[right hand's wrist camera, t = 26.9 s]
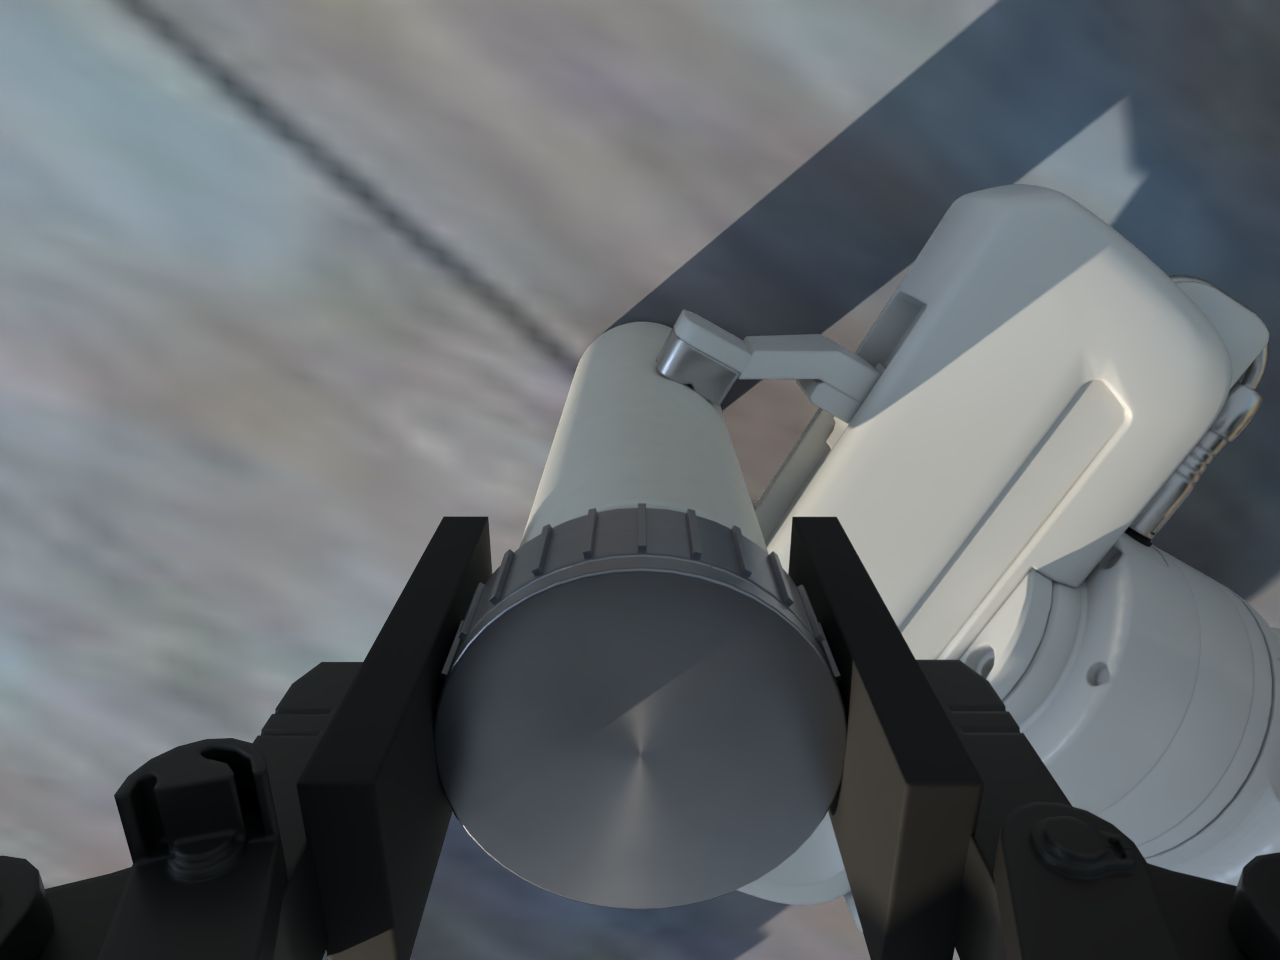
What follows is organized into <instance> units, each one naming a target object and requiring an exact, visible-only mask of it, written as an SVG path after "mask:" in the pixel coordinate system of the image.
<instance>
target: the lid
mask: <svg viewBox="0 0 1280 960" xmlns="http://www.w3.org/2000/svg"><path fill="white" fill-rule="evenodd" d="M439 679H441V680H445V681H444V683H443V687H442V690H441V693H440V696H439V699H438V703H437V706H436V712H435V719H434V726H433V733H434V745H435V755H436V764H437V772H438V777H439V779H440V782H441V785H442V788H443V791H444V794H445V797H446V798H447V800H448V802H449V804H450V806H451V808H452V810H453V812H454V814H455V816H456V817H457V819H458V820H459V821H460V823H461V824H462V826H463V827H464V828H465V830H466V831H467V833H468V834H469V835H470V836H471V837H472V838H473V839H474V840H475V842H476V843H477V844H478V845H479V846H480V847H481V848H482V849H483V850H484V851H485V852H486V853H487V854H489V855H490V856H491V857H492V858H493V859H495V860H496V861H497V862H498V863H499V864H501V865H502V866H503V867H505V868H506V869H508V870H509V871H511V872H512V873H514V874H516V875H517V876H519V877H520V878H522V879H524V880H526V881H528V882H530V883H532V884H534V885H536V886H538V887H539V888H541V889H544V890H546V891H549V892H552V893H554V894H557V895H560V896H562V897H565V898H568V899H572V900H576V901H580V902H584V903H587V904H592V905H599V906H605V907H612V908H625V909H657V908H669V907H676V906H683V905H689V904H693V903H697V902H701V901H705V900H709V899H713V898H716V897H718V896H721V895H724V894H727V893H730V892H732V891H735V890H737V889H739V888H741V887H743V886H745V885H747V884H749V883H752V882H754V881H756V880H757V879H759V878H761V877H762V876H764V875H765V874H767V873H769V872H770V871H772V870H773V869H775V868H776V867H778V866H779V865H780V864H781V863H783V862H784V861H785V860H786V859H788V858H789V857H790V856H791V855H793V854H794V853H795V852H796V851H797V850H798V849H799V848H800V847H801V846H802V845H803V844H804V843H805V842H806V840H807V839H808V838H809V837H810V836H811V835H812V834H813V832H814V831H815V830H816V828H817V827H818V826H819V824H820V823H821V821H822V820H823V819H824V817H825V815H826V813H827V812H828V810H829V808H830V806H831V804H832V802H833V801H834V799H835V796H836V793H837V791H838V788H839V785H840V782H841V780H842V777H843V769H844V760H845V751H846V741H847V720H846V712H845V707H844V703H843V700H842V696H841V693H840V689H839V686H838V684H837V683H839V682H842V678H841V675H840V672H839V669H838V667H837V664H836V662H835V659H834V657H833V654H832V652H831V649H830V646H829V644H828V641H827V639H826V636H825V634H824V631H823V629H822V626H821V623H818V620H817V618H816V615H815V612H814V610H813V607H812V605H811V602H810V600H809V597H808V594H807V592H806V589H805V588H804V586H803V585H800V586H798V587H797V586H796V585H795V583H794V582H793V580H792V579H791V577H790V576H789V575H788V574H787V572H786V571H785V570H784V569H783V568H782V565H781V563H780V560H779V557H778V555H777V554H776V553H775V552H774V551H772V552H771V553H770V554H768V553H767V552H765V551H764V550H763V549H762V548H761V547H759V546H758V545H757V544H755V543H754V542H752V541H751V540H749V539H748V538H746V537H744V536H743V535H742V532H741V529H740V528H739V527H737V526H735V525H734V526H733V527H732V529H730V528H728V527H726V526H724V525H721V524H719V523H717V522H715V521H712V520H709V519H706V518H702V517H699V516H696V512H695V510H692V509H688V510H687V513H684V512H678V511H673V510H668V509H655V508H646V503H638V508H626V509H614V510H608V511H602V512H597V510H596V508H593V509H589V510H588V515H585V516H582V517H578V518H575V519H572V520H569V521H566V522H564V523H562V524H560V525H557V526H555V527H553V528H552V527H551V525H550V524H548V525H546V526H544V527H543V529H542V532H541V534H540V535H538V536H536V537H535V538H533V539H532V540H530V541H528V542H527V543H525V544H524V545H523V546H522V547H520V548H519V549H518V550H517V551H515V552H512V551H511V550H508V551H507V552H506V553H505V555H504V557H503V560H502V563H501V566H500V567H499V568H498V569H497V570H496V571H495V572H494V573H493V574H492V576H491V577H490V579H489V580H488V581H487V583H486V584H485V585H484V584H483V583H481V582H480V583H479V584H478V586H477V588H476V590H475V593H474V595H473V598H472V601H471V603H470V606H469V608H468V611H467V614H466V616H465V619H464V621H463V620H461V623H460V625H459V628H458V630H457V633H456V635H455V638H454V640H453V643H452V646H451V648H450V651H449V653H448V656H447V658H446V661H445V664H444V666H443V669H442V671H441V674H440V678H439Z"/></svg>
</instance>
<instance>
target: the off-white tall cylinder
mask: <svg viewBox="0 0 1280 960" xmlns="http://www.w3.org/2000/svg"><path fill="white" fill-rule="evenodd" d="M671 330H672V328H671V327H668V326H666V325H662V324H658V323H653V322H632V323H626V324H623V325H619V326H617V327H614V328H612V329H610V330H608V331H607V332H605V333H603V334H602V335H601V336H599V337H598V338H597V339H596V340H595V341H594V342H593V343H592V344H591V345H590V346H589V347H588V348H587V350H586V351H585V352H584V354H583V356H582V358H581V359H580V361H579V364H578V367H577V369H576V372H575V375H574V379H573V382H572V385H571V388H570V391H569V394H568V397H567V400H566V404H565V407H564V410H563V413H562V416H561V419H560V422H559V426H558V429H557V432H556V435H555V438H554V441H553V444H552V447H551V451H550V454H549V457H548V460H547V463H546V466H545V469H544V473H543V476H542V479H541V482H540V485H539V488H538V491H537V494H536V498H535V501H534V504H533V507H532V510H531V513H530V516H529V520H528V523H527V526H526V529H525V532H524V535H523V538H522V541H521V545H520V547H522V546H523V545H524V544H525V543H527V542H528V541H530V540H532V539H533V538H535V537H536V536H538V535H540V534H541V532H542V529H543V527H544V526H546V525H548V524H550V525H551V527H552V528H553V527H555V526H557V525H560V524H562V523H564V522H566V521H569V520H572V519H575V518H578V517H582V516H585V515H588V510H589V509H593V508H596V510H597V512H602V511H608V510H614V509H626V508H638V503H646V508H655V509H668V510H673V511H678V512H684V513H687V510H688V509H692V510H695V512H696V516H699V517H702V518H706V519H709V520H712V521H715V522H717V523H719V524H721V525H724V526H726V527H728V528H730V529H732V527H733V526H734V525H735V526H737V527H739V528H740V529H741V532H742V535H743V536H744V537H746V538H748V539H749V540H751V541H752V542H754V543H755V544H757V545H758V546H759V547H761V548H762V549H763V550H764V551H765V552H767V553H768V551H767V548H766V544H765V541H764V538H763V535H762V532H761V529H760V526H759V523H758V520H757V517H756V514H755V511H754V508H753V505H752V501H751V498H750V495H749V492H748V489H747V486H746V483H745V480H744V477H743V474H742V471H741V468H740V465H739V462H738V458H737V455H736V452H735V449H734V446H733V443H732V440H731V437H730V434H729V431H728V428H727V425H726V422H725V419H724V415H723V412H722V409H721V406H718V405H716V404H715V403H713V402H711V401H709V400H707V399H705V398H703V397H702V396H700V395H699V394H698V393H696V392H695V390H694V388H693V386H692V384H683V385H682V384H679V383H677V382H674V381H672V380H670V379H669V378H667V377H666V376H664V375H663V374H661V373H660V372H659V371H658V370H657V369H656V364H657V362H656V358H657V356H658V354H659V352H660V350H661V348H662V347H663V345H664V343H665V341H666V339H667V337H668V335H669V334H670V332H671Z"/></svg>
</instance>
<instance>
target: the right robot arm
mask: <svg viewBox="0 0 1280 960" xmlns="http://www.w3.org/2000/svg"><path fill="white" fill-rule="evenodd" d="M788 575H789V576H790V577H791V579H792V580H793V582H794V583H795V585H796V586H797V587H798V586H800V585H803V586H804V588H805V589H806V592H807V594H808V597H809V600H810V602H811V605H812V607H813V610H814V612H815V615H816V618H817V620H818V623H821V626H822V629H823V631H824V634H825V636H826V639H827V641H828V644H829V646H830V649H831V652H832V654H833V657H834V659H835V662H836V664H837V667H838V669H839V672H840V675H841V678H842V682H839V683H837V684H838V686H839V689H840V693H841V696H842V700H843V703H844V707H845V712H846V720H847V741H846V751H845V760H844V769H843V777H842V780H841V782H840V785H839V788H838V791H837V793H836V796H835V799H834V801H833V802H832V804H831V806H830V808H829V810H828V812H829V816H830V819H831V823H832V826H833V830H834V833H835V837H836V840H837V844H838V847H839V851H840V854H841V857H842V861H843V864H844V868H845V871H846V875H847V878H848V882H849V885H850V889H851V892H852V896H853V899H854V902H855V906H856V909H857V913H858V916H859V920H860V923H861V927H862V930H863V934H864V937H865V941H866V944H867V947H868V951H869V954H870V958H871V960H952V959H953V954H954V948H956V950H957V953H958V955H959V958H960V960H1280V852H1278V853H1271V854H1265V855H1258V856H1255V857H1254V858H1253V859H1252V860H1251V861H1250V862H1249V863H1247V864H1246V865H1245V866H1244V867H1243V870H1242V873H1241V876H1240V879H1239V882H1238V885H1237V886H1234V885H1230V884H1226V883H1222V882H1218V881H1213V880H1209V879H1205V878H1201V877H1197V876H1192V875H1188V874H1184V873H1180V872H1175V871H1171V870H1168V869H1165V868H1162V867H1158V866H1155V865H1152V864H1149V863H1147V862H1146V860H1145V859H1144V857H1143V856H1142V854H1141V853H1140V851H1139V849H1138V848H1137V846H1136V845H1135V843H1134V842H1133V841H1132V840H1131V839H1129V838H1128V837H1127V836H1126V835H1125V834H1124V833H1122V832H1121V831H1120V830H1119V829H1118V828H1117V827H1115V826H1114V825H1113V824H1111V823H1109V822H1107V821H1106V820H1104V819H1102V818H1100V817H1098V816H1096V815H1094V814H1092V813H1090V812H1088V811H1086V810H1083V809H1079V808H1076V807H1073V806H1072V805H1071V803H1070V802H1069V800H1068V799H1067V797H1066V796H1065V794H1064V793H1063V791H1062V790H1061V788H1060V787H1059V785H1058V784H1057V782H1056V781H1055V779H1054V778H1053V776H1052V775H1051V773H1050V772H1049V770H1048V769H1047V767H1046V766H1045V765H1044V763H1043V762H1042V760H1041V759H1040V757H1039V756H1038V754H1037V753H1036V751H1035V750H1034V748H1033V747H1032V745H1031V744H1030V742H1029V741H1028V739H1027V738H1026V736H1025V735H1024V733H1020V727H1019V726H1018V724H1017V723H1016V721H1015V720H1014V718H1013V717H1012V715H1011V714H1010V712H1009V711H1006V706H1005V705H1004V703H1003V702H1002V700H1001V699H1000V697H999V696H998V694H997V693H996V691H995V690H994V688H993V687H992V685H991V684H990V682H989V681H988V680H986V679H985V678H984V677H982V676H981V675H979V674H978V673H977V672H975V671H974V670H973V669H971V668H970V667H969V666H967V665H966V664H965V663H963V662H962V661H960V660H916V659H915V657H914V656H913V654H912V652H911V650H910V648H909V647H908V645H907V643H906V641H905V639H904V637H903V636H902V634H901V632H900V630H899V628H898V627H897V625H896V623H895V621H894V619H893V618H892V616H891V614H890V612H889V610H888V609H887V607H886V605H885V603H884V601H883V599H882V598H881V596H880V594H879V592H878V590H877V589H876V587H875V585H874V583H873V581H872V580H871V578H870V576H869V574H868V572H867V571H866V569H865V567H864V565H863V563H862V562H861V560H860V558H859V556H858V554H857V552H856V551H855V549H854V547H853V545H852V543H851V542H850V540H849V538H848V536H847V534H846V533H845V531H844V529H843V527H842V525H841V524H840V522H839V520H838V518H837V517H792V530H791V544H790V558H789V572H788ZM491 576H492V565H491V551H490V537H489V522H488V517H443V519H442V521H441V523H440V524H439V526H438V528H437V530H436V532H435V534H434V535H433V537H432V539H431V541H430V543H429V544H428V546H427V548H426V550H425V552H424V553H423V555H422V557H421V559H420V561H419V562H418V564H417V566H416V568H415V570H414V572H413V573H412V575H411V577H410V579H409V581H408V582H407V584H406V586H405V588H404V590H403V591H402V593H401V595H400V597H399V599H398V600H397V602H396V604H395V606H394V608H393V610H392V611H391V613H390V615H389V617H388V619H387V620H386V622H385V624H384V626H383V628H382V629H381V631H380V633H379V635H378V637H377V638H376V640H375V642H374V644H373V646H372V648H371V649H370V651H369V653H368V655H367V657H366V658H365V660H364V662H321V663H320V664H319V665H317V666H316V667H314V668H313V669H312V670H310V671H309V672H308V673H306V674H305V675H304V676H302V677H301V678H300V679H298V680H297V681H296V682H294V683H293V684H292V685H291V687H290V688H289V690H288V691H287V693H286V694H285V696H284V697H283V699H282V700H281V702H280V703H279V705H278V706H277V708H276V709H275V710H276V712H275V714H272V715H271V717H270V718H269V720H268V721H267V723H266V724H265V726H264V727H263V729H262V730H261V731H262V733H261V736H257V738H256V739H255V741H254V742H253V743H249V742H245V741H241V740H237V739H233V738H225V739H205V740H202V741H198V742H194V743H190V744H186V745H182V746H178V747H176V748H174V749H172V750H170V751H167V752H165V753H163V754H161V755H159V756H157V757H155V758H153V759H150V760H149V761H148V762H147V763H145V764H144V765H143V766H141V767H140V768H139V769H137V770H136V771H135V772H133V773H132V774H131V775H129V776H128V777H127V779H126V780H125V781H124V783H123V784H122V785H121V787H120V788H119V789H118V791H117V792H116V794H115V795H114V796H115V800H116V804H117V807H118V811H119V814H120V818H121V822H122V825H123V829H124V832H125V836H126V839H127V843H128V847H129V850H130V854H131V857H132V861H133V866H132V867H130V868H127V869H124V870H120V871H117V872H114V873H111V874H107V875H103V876H98V877H94V878H90V879H86V880H82V881H77V882H73V883H69V884H65V885H61V886H56V887H52V888H48V889H44V886H43V883H42V880H41V877H40V874H39V871H38V870H37V869H36V868H35V867H34V866H33V865H32V864H31V863H29V862H28V861H27V860H26V859H21V858H14V857H8V856H0V960H322V958H323V956H324V953H325V951H327V956H328V960H410V956H411V953H412V949H413V946H414V942H415V939H416V935H417V932H418V928H419V925H420V922H421V918H422V915H423V911H424V908H425V904H426V901H427V897H428V894H429V890H430V887H431V883H432V880H433V877H434V873H435V870H436V866H437V863H438V859H439V856H440V852H441V849H442V845H443V842H444V838H445V835H446V832H447V828H448V825H449V821H450V818H451V814H452V811H453V810H452V808H451V806H450V804H449V802H448V800H447V798H446V797H445V794H444V791H443V788H442V785H441V782H440V779H439V777H438V772H437V764H436V755H435V745H434V733H433V726H434V719H435V712H436V706H437V703H438V699H439V696H440V693H441V690H442V687H443V683H444V681H445V680H441V679H439V678H440V674H441V671H442V669H443V666H444V664H445V661H446V658H447V656H448V653H449V651H450V648H451V646H452V643H453V640H454V638H455V635H456V633H457V630H458V628H459V625H460V623H461V620H463V621H464V619H465V616H466V614H467V611H468V608H469V606H470V603H471V601H472V598H473V595H474V593H475V590H476V588H477V586H478V584H479V583H480V582H481V583H483V584H484V585H485V584H486V583H487V581H488V580H489V579H490V577H491Z"/></svg>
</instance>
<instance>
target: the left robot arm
mask: <svg viewBox="0 0 1280 960" xmlns="http://www.w3.org/2000/svg"><path fill="white" fill-rule="evenodd" d="M1268 341H1269V332H1268V330H1267V328H1266V326H1265V324H1264V323H1263V322H1262V320H1261V319H1260V318H1259V317H1258V316H1257V315H1256V314H1255V313H1254V312H1253V311H1252V310H1251V309H1250V308H1248V307H1247V306H1245V305H1244V304H1242V303H1241V302H1239V301H1238V300H1236V299H1234V298H1233V297H1231V296H1230V295H1228V294H1227V293H1225V292H1224V291H1222V290H1221V289H1219V288H1217V287H1216V286H1214V285H1213V284H1211V283H1210V282H1208V281H1205V280H1203V279H1200V278H1197V277H1192V276H1187V275H1174V276H1167V275H1166V274H1165V273H1164V272H1163V271H1162V270H1161V269H1160V268H1159V267H1158V266H1157V265H1156V264H1154V263H1153V262H1152V261H1151V260H1150V259H1149V258H1148V257H1147V256H1146V255H1145V254H1143V253H1142V252H1141V251H1140V250H1139V249H1138V248H1136V247H1135V246H1134V245H1133V244H1132V243H1130V242H1129V241H1128V240H1127V239H1126V238H1124V237H1123V236H1122V235H1121V234H1119V233H1118V232H1117V231H1116V230H1115V229H1113V228H1112V227H1111V226H1110V225H1108V224H1107V223H1106V222H1104V221H1103V220H1102V219H1100V218H1099V217H1098V216H1096V215H1095V214H1094V213H1092V212H1091V211H1089V210H1088V209H1087V208H1085V207H1084V206H1082V205H1081V204H1079V203H1078V202H1076V201H1075V200H1073V199H1072V198H1070V197H1068V196H1067V195H1065V194H1063V193H1061V192H1058V191H1055V190H1052V189H1049V188H1045V187H1040V186H1035V185H1027V184H1010V185H1003V186H997V187H992V188H988V189H983V190H979V191H975V192H971V193H967V194H965V195H962V196H961V197H959V198H958V199H956V200H955V201H954V203H953V204H952V205H951V206H950V208H949V209H948V210H947V212H946V213H945V215H944V217H943V218H942V220H941V221H940V223H939V224H938V226H937V227H936V229H935V231H934V232H933V234H932V235H931V237H930V238H929V240H928V241H927V243H926V244H925V246H924V248H923V249H922V251H921V252H920V254H919V255H918V257H917V258H916V260H915V261H914V263H913V264H912V266H911V268H910V269H909V271H908V272H907V274H906V275H905V277H904V278H903V280H902V281H901V283H900V284H899V286H898V288H897V289H896V291H895V292H894V294H893V295H892V297H891V298H890V300H889V301H888V303H887V304H886V306H885V308H884V309H883V311H882V312H881V314H880V315H879V317H878V318H877V320H876V321H875V323H874V325H873V326H872V328H871V329H870V331H869V332H868V334H867V335H866V337H865V338H864V340H863V341H862V343H861V345H860V346H859V348H858V349H857V351H856V352H855V353H853V352H851V351H850V350H848V349H846V348H844V347H843V346H841V345H839V344H837V343H836V342H834V341H832V340H830V339H828V338H827V337H825V336H823V335H821V334H802V335H771V336H746V337H745V338H744V340H742V339H740V338H738V337H736V336H734V335H733V334H731V333H729V332H727V331H725V330H724V329H722V328H720V327H718V326H717V325H715V324H713V323H711V322H709V321H708V320H706V319H704V318H702V317H700V316H699V315H697V314H695V313H692V312H690V311H687V310H684V309H683V310H682V312H681V314H680V316H679V318H678V319H677V321H676V323H675V325H674V327H673V328H672V330H671V332H670V334H669V335H668V337H667V339H666V341H665V343H664V345H663V347H662V348H661V350H660V352H659V354H658V356H657V358H656V362H657V364H656V369H657V370H658V371H659V372H660V373H661V374H663V375H664V376H666V377H667V378H669V379H670V380H672V381H674V382H677V383H679V384H682V385H683V384H692V386H693V388H694V390H695V392H696V393H698V394H699V395H700V396H702V397H703V398H705V399H707V400H709V401H711V402H713V403H715V404H716V405H718V406H720V405H721V403H722V401H723V400H724V398H725V397H726V395H727V394H728V392H729V390H730V389H731V387H732V386H733V384H734V383H735V381H736V379H737V378H739V379H796V382H797V384H798V385H799V386H800V388H801V389H802V391H803V392H804V393H805V395H806V396H807V397H808V399H809V400H810V402H811V403H812V404H814V405H816V406H818V407H819V409H818V411H817V412H816V414H815V415H814V417H813V418H812V420H811V422H810V423H809V425H808V426H807V428H806V429H805V431H804V432H803V434H802V435H801V437H800V438H799V440H798V442H797V443H796V445H795V446H794V448H793V449H792V451H791V452H790V454H789V455H788V457H787V459H786V460H785V462H784V463H783V465H782V466H781V468H780V469H779V471H778V472H777V474H776V475H775V477H774V479H773V480H772V482H771V483H770V485H769V486H768V488H767V489H766V491H765V492H764V494H763V495H762V497H761V499H760V500H759V502H758V503H757V505H756V506H755V508H754V511H755V514H756V517H757V520H758V523H759V526H760V529H761V532H762V535H763V538H764V541H765V544H766V548H767V551H768V554H770V553H771V552H772V551H774V552H775V553H776V554H777V555H778V557H779V560H780V563H781V565H782V568H783V569H784V570H785V571H786V572H787V574H788V572H789V558H790V544H791V530H792V517H837V518H838V520H839V522H840V524H841V525H842V527H843V529H844V531H845V533H846V534H847V536H848V538H849V540H850V542H851V543H852V545H853V547H854V549H855V551H856V552H857V554H858V556H859V558H860V560H861V562H862V563H863V565H864V567H865V569H866V571H867V572H868V574H869V576H870V578H871V580H872V581H873V583H874V585H875V587H876V589H877V590H878V592H879V594H880V596H881V598H882V599H883V601H884V603H885V605H886V607H887V609H888V610H889V612H890V614H891V616H892V618H893V619H894V621H895V623H896V625H897V627H898V628H899V630H900V632H901V634H902V636H903V637H904V639H905V641H906V643H907V645H908V647H909V648H910V650H911V652H912V654H913V656H914V657H915V659H916V660H960V661H962V662H963V663H965V664H966V665H967V666H969V667H970V668H971V669H973V670H974V671H975V672H977V673H978V674H979V675H981V676H982V677H984V678H985V679H986V680H988V681H989V682H990V684H991V685H992V687H993V688H994V690H995V691H996V693H997V694H998V696H999V697H1000V699H1001V700H1002V702H1003V703H1004V705H1005V706H1006V711H1009V712H1010V714H1011V715H1012V717H1013V718H1014V720H1015V721H1016V723H1017V724H1018V726H1019V727H1020V733H1024V735H1025V736H1026V738H1027V739H1028V741H1029V742H1030V744H1031V745H1032V747H1033V748H1034V750H1035V751H1036V753H1037V754H1038V756H1039V757H1040V759H1041V760H1042V762H1043V763H1044V765H1045V766H1046V767H1047V769H1048V770H1049V772H1050V773H1051V775H1052V776H1053V778H1054V779H1055V781H1056V782H1057V784H1058V785H1059V787H1060V788H1061V790H1062V791H1063V793H1064V794H1065V796H1066V797H1067V799H1068V800H1069V802H1070V803H1071V805H1072V806H1073V807H1076V808H1079V809H1083V810H1086V811H1088V812H1090V813H1092V814H1094V815H1096V816H1098V817H1100V818H1102V819H1104V820H1106V821H1107V822H1109V823H1111V824H1113V825H1114V826H1115V827H1117V828H1118V829H1119V830H1120V831H1121V832H1122V833H1124V834H1125V835H1126V836H1127V837H1128V838H1129V839H1131V840H1132V841H1133V842H1134V843H1135V845H1136V846H1137V848H1138V849H1139V851H1140V853H1141V854H1142V856H1143V857H1144V859H1145V860H1146V862H1147V863H1149V864H1152V865H1155V866H1158V867H1162V868H1165V869H1168V870H1171V871H1175V872H1180V873H1184V874H1188V875H1192V876H1197V877H1201V878H1205V879H1209V880H1213V881H1218V882H1222V883H1226V884H1230V885H1234V886H1237V885H1238V882H1239V879H1240V876H1241V873H1242V870H1243V867H1244V866H1245V865H1246V864H1247V863H1249V862H1250V861H1251V860H1252V859H1253V858H1254V857H1255V856H1258V855H1265V854H1271V853H1278V852H1280V629H1278V628H1272V627H1270V626H1269V624H1268V623H1267V622H1266V621H1265V620H1264V619H1263V618H1262V617H1261V615H1260V614H1259V613H1258V612H1257V611H1256V610H1255V609H1254V608H1253V607H1252V606H1251V605H1250V604H1249V603H1248V602H1246V601H1245V600H1244V599H1242V598H1241V597H1240V596H1238V595H1237V594H1236V593H1234V592H1233V591H1232V590H1230V589H1229V588H1228V587H1226V586H1224V585H1223V584H1221V583H1219V582H1217V581H1215V580H1214V579H1212V578H1210V577H1208V576H1207V575H1205V574H1203V573H1201V572H1200V571H1198V570H1196V569H1194V568H1192V567H1191V566H1189V565H1187V564H1185V563H1184V562H1182V561H1180V560H1178V559H1177V558H1175V557H1173V556H1171V555H1169V554H1168V553H1166V552H1164V551H1162V550H1161V549H1159V548H1157V547H1155V546H1154V545H1152V543H1151V542H1150V541H1151V540H1152V539H1153V538H1154V536H1155V535H1156V534H1157V533H1158V532H1159V530H1160V529H1161V528H1162V527H1163V526H1164V525H1165V523H1166V522H1167V521H1168V520H1169V519H1170V517H1171V516H1172V515H1173V514H1174V513H1175V511H1176V510H1177V509H1178V508H1179V507H1180V505H1181V504H1182V503H1183V502H1184V501H1185V499H1186V498H1187V497H1188V496H1189V494H1190V493H1191V492H1192V490H1193V489H1194V488H1195V483H1198V481H1199V480H1200V478H1201V474H1203V473H1204V472H1205V471H1206V469H1207V468H1208V467H1207V465H1208V464H1211V462H1212V461H1213V460H1214V459H1215V458H1214V456H1215V455H1218V454H1219V453H1220V452H1221V450H1222V449H1223V448H1224V447H1225V446H1226V444H1227V443H1228V442H1230V443H1232V442H1233V441H1234V440H1235V439H1236V438H1237V437H1238V436H1239V435H1240V434H1241V433H1242V432H1243V431H1244V430H1245V428H1246V427H1247V426H1248V425H1249V423H1250V422H1251V421H1252V419H1253V418H1254V416H1255V415H1256V413H1257V411H1258V410H1259V408H1260V406H1261V404H1262V402H1263V400H1264V397H1263V396H1262V395H1261V394H1260V393H1258V392H1256V391H1255V390H1256V388H1257V386H1258V384H1259V382H1260V380H1261V378H1262V376H1263V374H1264V371H1265V368H1266V364H1267V358H1268ZM1241 376H1242V377H1241ZM1240 377H1241V379H1240V381H1239V382H1237V381H1238V379H1239V378H1240ZM737 891H740V892H743V893H746V894H749V895H752V896H755V897H759V898H762V899H765V900H769V901H773V902H778V903H783V904H790V905H815V904H821V903H825V902H829V901H832V900H834V899H837V898H840V897H841V896H843V895H844V898H845V900H846V903H847V905H848V907H849V910H850V912H851V915H852V917H853V919H854V922H855V924H856V926H857V927H858V928H859V929H860V930H861V931H862V932H863V930H862V927H861V923H860V920H859V916H858V913H857V909H856V906H855V902H854V899H853V896H852V892H851V889H850V885H849V882H848V878H847V875H846V871H845V868H844V864H843V861H842V857H841V854H840V851H839V847H838V844H837V840H836V837H835V833H834V830H833V826H832V823H831V819H830V816H829V812H827V813H826V815H825V817H824V819H823V820H822V821H821V823H820V824H819V826H818V827H817V828H816V830H815V831H814V832H813V834H812V835H811V836H810V837H809V838H808V839H807V840H806V842H805V843H804V844H803V845H802V846H801V847H800V848H799V849H798V850H797V851H796V852H795V853H794V854H793V855H791V856H790V857H789V858H788V859H786V860H785V861H784V862H783V863H781V864H780V865H779V866H778V867H776V868H775V869H773V870H772V871H770V872H769V873H767V874H765V875H764V876H762V877H761V878H759V879H757V880H756V881H754V882H752V883H749V884H747V885H745V886H743V887H741V888H739V889H737Z"/></svg>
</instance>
